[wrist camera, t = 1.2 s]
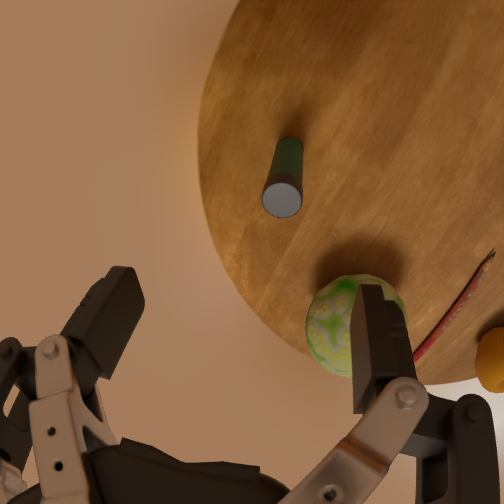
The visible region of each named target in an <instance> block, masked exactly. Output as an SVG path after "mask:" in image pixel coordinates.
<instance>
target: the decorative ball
mask: <svg viewBox="0 0 504 504" xmlns="http://www.w3.org/2000/svg"><path fill="white" fill-rule="evenodd" d="M359 284H380V285H381V286H382V289H383V294H384V298H385V300H395V302H396V303H397V304H398V306H399V307H400V308H401V310H402V311H403V314H404V318H405V322H406V327H407V320H408V319H407V313H406V309H405V305H404V303H403V301H402V300H401V298H400V297H399V295H398V294H397V292H396V291H395V289H394V288H393V287H392V286H391V285H390V284H388V283H387V282H386V281H384V280H382V279H380V278H378V277H374V276H372V275H369V274H356V275H344V276H340V277H338V278H337V279H335V280H333V281H332V282H330V283H329V284H328V285H326V286H325V287H323V288H322V289H321V290H319V291H318V292H317V293H316V295H315V297H314V299H313V301H312V303H311V305H310V307H309V310H308V314H307V319H306V337H307V342H308V346H309V349H310V352H311V354H312V356H313V357H314V359H315V360H316V361H317V362H318V363H319V364H320V365H321V366H322V367H323V368H324V369H326V370H327V371H329V372H331V373H334V374H335V375H338V376H341V377H352V358H351V342H350V319H351V313H352V309H353V305H354V301H355V297H356V293H357V288H358V285H359Z"/></svg>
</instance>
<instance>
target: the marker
mask: <svg viewBox="0 0 504 504" xmlns="http://www.w3.org/2000/svg"><path fill="white" fill-rule="evenodd" d="M302 177H303V147H302V145H301V143H300V142H299V141H297V140H296V139H293V138H285V139H282V140H281V141H280V142H279V143H278V144H277V146H276V150H275V153H274V157H273V161H272V164H271V168H270V171H269V175H268V179H267V181H266V183H265V186H264V190H263V193H262V205H263V207H264V209H265V210H266V211H267V212H268V213H269V214H270V215H272V216H274V217H277V218H288V217H291V216H293V215H295V214H296V213H297V212H298V211H299V210H300V208H301V206H302V202H303V187H302Z"/></svg>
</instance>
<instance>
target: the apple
mask: <svg viewBox="0 0 504 504" xmlns="http://www.w3.org/2000/svg"><path fill="white" fill-rule="evenodd" d="M475 371H476V375H477V377H478V379H479V381H480V383H481V384H482V386H483V387H484V388H485V389H486V390H488V391H489V392H493V393H503V392H504V327H494V328H492V329H490V330H488V331H487V332H486V333H485V334H484V335H483V337H482V339H481V340H480V344H479V347H478V350H477V354H476V359H475Z"/></svg>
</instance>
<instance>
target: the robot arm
mask: <svg viewBox="0 0 504 504" xmlns="http://www.w3.org/2000/svg"><path fill="white" fill-rule="evenodd" d="M144 306H145V299H144V296H143V292H142V290H141V287H140V284H139V281H138V278H137V275H136V272H135V270H134V269H133V268H132V267H123V266H113V267H112V268H111V269H110V271H109V272H108V273H107V275H106V276H105V278H101V279H100V280H99V281H98V282H96V283H95V284H94V285H92V286H91V288H90V289H89V291H88V292H87V294H86V295H85V298H83V300H82V301H81V302H80V306H78V307H77V308H76V310H75V311H74V313H73V314H72V316H71V317H70V319H69V320H68V322H67V323H66V325H65V327H64V328H63V330H62V331H61V333H60V334H59V335H51V336H48V337H46V338H45V339H43V340H42V341H41V342H40V343H39V345H38V346H35V347H23V346H22V345H21V343H20V342H19V341H18V339H16V338H14V337H9V338H6V339H4V340H2V341H1V342H0V504H363V503H364V502H365V501H366V499H367V498H368V497H369V496H370V495H371V493H372V492H373V491H374V490H375V488H376V487H377V486H378V485H379V483H380V482H381V481H382V479H383V478H384V477H385V475H386V474H387V472H388V470H389V467H390V465H391V463H392V462H393V460H394V459H395V457H396V456H397V455H398V453H402V454H406V455H409V456H414V457H416V499H415V504H500V483H499V467H498V456H497V447H496V439H495V431H494V424H493V418H492V412H491V409H490V406H489V404H488V403H487V402H486V400H485V399H483V398H482V397H481V396H479V395H476V394H467V395H464V396H462V397H461V398H459V400H457V401H452V400H448V399H444V398H440V397H436V396H434V395H431V394H430V393H428V392H427V390H426V388H425V387H424V386H423V384H421V383H420V382H419V381H418V379H417V376H416V371H415V365H414V360H413V355H412V350H411V345H410V340H409V338H408V331H407V327H406V322H405V318H404V314H403V311H402V310H401V308H400V307H399V306H398V304H397V303H396V302H395V300H385V298H384V294H383V289H382V286H381V285H380V284H359V285H358V288H357V293H356V297H355V301H354V305H353V309H352V313H351V319H350V342H351V358H352V380H353V414H363V417H362V418H361V419H360V420H359V422H358V423H357V424H356V425H355V426H354V428H353V429H352V430H351V431H350V432H349V434H348V435H347V436H346V437H344V438H343V439H342V440H341V441H340V442H339V443H338V444H337V445H336V446H335V447H334V448H333V449H332V450H331V451H330V452H329V453H328V455H327V456H326V457H325V458H324V459H323V460H322V461H321V462H320V463H319V464H318V465H317V466H316V467H315V468H314V469H313V470H312V471H311V472H310V473H309V474H308V475H307V476H306V477H305V478H304V479H303V480H302V481H301V482H300V483H299V484H298V485H297V486H296V487H295V488H294V489H293V490H292V491H291V490H290V489H288V488H287V487H286V486H285V485H284V484H282V483H281V482H279V481H277V480H276V479H274V478H272V477H270V476H267V475H265V474H262V473H260V466H252V465H244V464H237V463H230V462H224V461H221V462H200V463H185V462H182V461H179V460H177V459H176V458H173V457H172V456H170V455H168V454H166V453H164V452H162V451H160V450H159V449H157V448H155V447H153V446H150V445H146V444H143V443H140V442H136V441H133V440H130V439H126V438H123V437H122V440H121V443H120V444H118V442H117V441H116V438H115V437H114V435H113V434H112V432H111V430H110V428H109V425H108V422H107V419H106V415H105V411H104V407H103V404H102V400H101V396H100V391H99V387H98V385H97V383H96V382H97V380H98V377H102V378H105V379H108V380H110V378H111V376H112V374H113V372H114V370H115V368H116V366H117V364H118V361H119V359H120V357H121V355H122V353H123V351H124V349H125V347H126V345H127V343H128V341H129V339H130V337H131V335H132V333H133V331H134V329H135V327H136V325H137V323H138V321H139V319H140V317H141V315H142V313H143V311H144ZM14 384H15V385H16V387H17V388H18V389H19V390H20V391H19V394H18V396H17V398H16V400H15V402H14V404H13V406H12V408H11V410H10V413H9V415H8V417H6V416H5V415H4V412H3V406H4V403H5V401H6V399H7V397H8V394H9V393H10V390H11V388H12V387H13V385H14ZM32 445H33V449H34V455H35V461H36V466H37V472H38V477H39V483H38V484H36V485H34V486H32V487H31V488H29V489H27V484H26V482H25V481H24V480H22V472H23V470H24V467H25V464H26V461H27V458H28V456H29V453H30V450H31V447H32Z"/></svg>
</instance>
